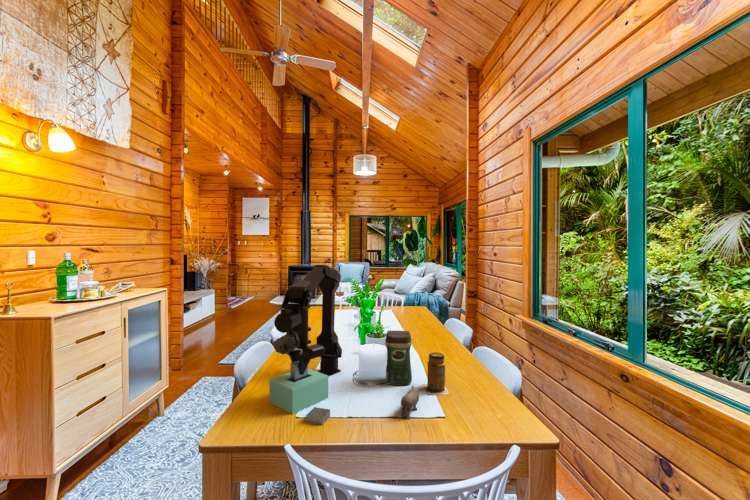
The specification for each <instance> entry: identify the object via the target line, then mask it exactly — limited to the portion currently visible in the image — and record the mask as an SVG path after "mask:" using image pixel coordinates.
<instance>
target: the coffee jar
mask: <svg viewBox="0 0 750 500" xmlns="http://www.w3.org/2000/svg"><path fill="white" fill-rule="evenodd" d="M384 343H385V346H386V364H387V365H386V367H385V382H386V383H387V384H389V385H392V386H393V385H397V386H404V385H405V386H407V385H409V384H411V383H412V382H413V381H412V380H413V375H412V365H411V347H412V343H413V342H412V336H411V332H410V330H387V331H386V333H385V342H384Z"/></svg>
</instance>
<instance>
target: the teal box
mask: <svg viewBox="0 0 750 500" xmlns="http://www.w3.org/2000/svg"><path fill="white" fill-rule="evenodd" d="M268 385H269V394H268V395H269V397H268V398H269V401H268V402H269V403H270V404H272V405H274V406H277V407H278V408H280V409H282V410H284V411H286V412H287V413H290V414H291V415H294V414H297V413H299V412H301V411H303V410H305V409H308V408H310V407H312V406H315V405H316V403H317V404H319V403H321V402H323V401H325V400H324V399H326V398H328V399H329V376H328V375H325V374H322V373H320V372H318V371H316V370H314V369H311V368H309V367H308V376H307V377H304V378H301V379H298V380H296V381H295V380H292V379H290V371H289V372H285V373H283V374H280V375H277V376H274V377H271V378H269V384H268ZM322 400H323V401H322ZM326 400H327V399H326ZM320 401H321V402H320ZM318 402H319V403H318ZM311 405H312V406H311ZM309 406H310V407H309ZM307 407H308V408H307ZM304 408H305V409H304ZM302 409H303V410H302ZM300 410H301V411H300Z"/></svg>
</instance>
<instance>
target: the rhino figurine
mask: <svg viewBox="0 0 750 500" xmlns="http://www.w3.org/2000/svg"><path fill="white" fill-rule="evenodd" d="M421 390H422V387H421V388H415V387H414V385H412V386H411V389H410V390H408V392H407V393H406V394H405V395H403V396H402V397H401V399H400V405H401V413H400V415H401V416H405V419H406V420H411V419H412V418H411V416H410V413H411V411H412V410H413V411H418V407H417V404H418V402H419V401H420V400H419V399H420V398H419V397H420V396H419V392H421Z"/></svg>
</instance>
